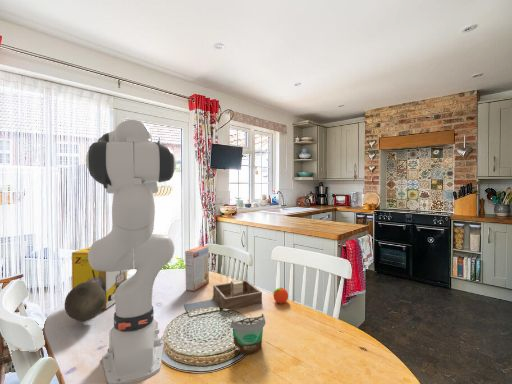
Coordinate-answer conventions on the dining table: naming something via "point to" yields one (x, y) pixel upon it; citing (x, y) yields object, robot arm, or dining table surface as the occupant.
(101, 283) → the packaging box
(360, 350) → the dining table surface
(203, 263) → the cracker box
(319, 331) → the dining table surface
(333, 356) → the dining table surface
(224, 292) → the box frame
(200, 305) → the slate mat
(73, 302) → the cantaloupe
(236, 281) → the beech block
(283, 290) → the tomato
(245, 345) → the food container
